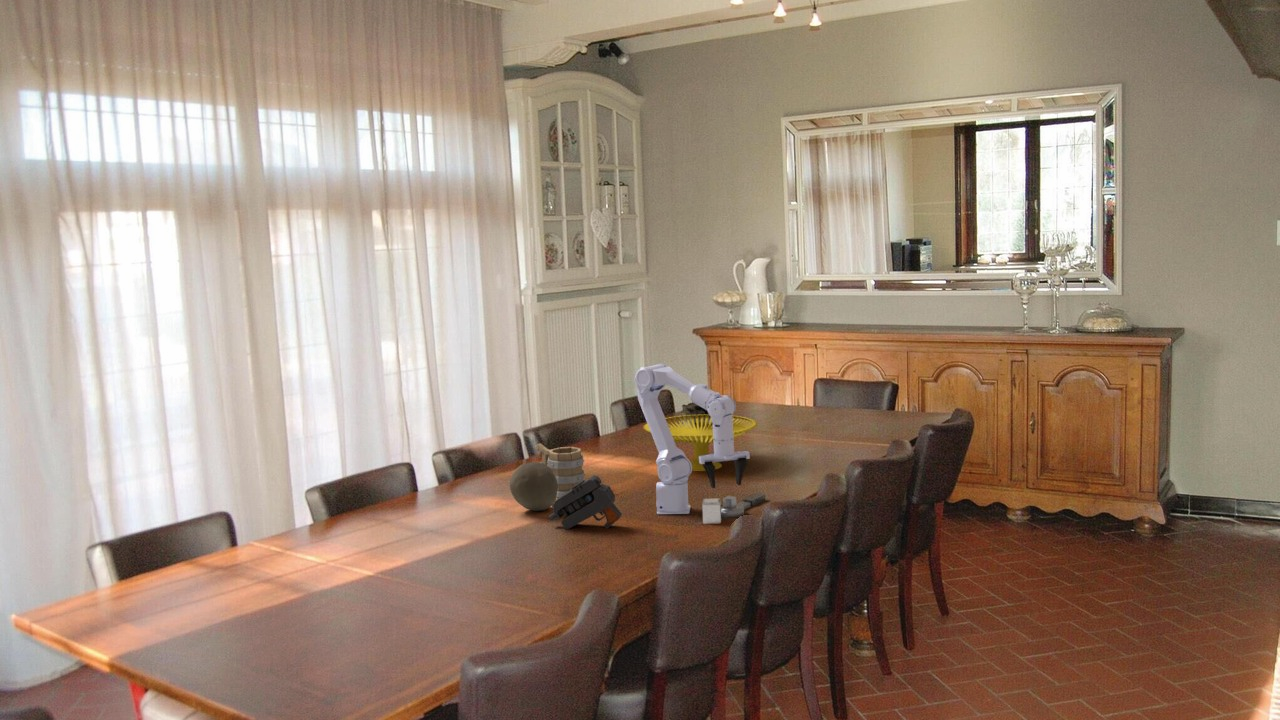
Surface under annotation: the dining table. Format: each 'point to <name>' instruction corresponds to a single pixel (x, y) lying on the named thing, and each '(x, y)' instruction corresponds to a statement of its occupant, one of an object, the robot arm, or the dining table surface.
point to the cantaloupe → (534, 486)
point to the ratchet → (739, 505)
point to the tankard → (564, 466)
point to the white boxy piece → (711, 510)
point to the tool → (586, 503)
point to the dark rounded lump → (694, 410)
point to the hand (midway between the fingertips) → (725, 485)
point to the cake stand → (701, 435)
